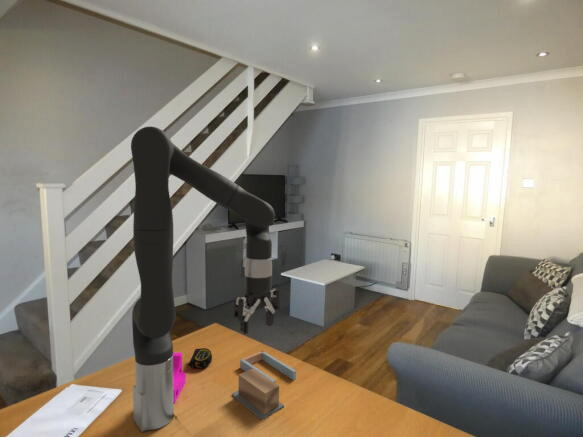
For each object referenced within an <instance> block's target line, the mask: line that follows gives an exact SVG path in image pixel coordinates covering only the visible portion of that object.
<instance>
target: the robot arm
mask: <svg viewBox="0 0 583 437" xmlns="http://www.w3.org/2000/svg"><path fill="white" fill-rule="evenodd" d="M130 151H131V157H132V163H133V172H134V182H135V192H134V194H135V195H134V203H133V222H132V223H133V224H132V225H133V226H132V228H133V230H132V232H133V238H132V239H133V250H134V258H135V262H136V267H137V271H138V272H137V273H138V275H139V281H140V282H139V283H140V297H139V299H138V300H137V301H136V302H135V304H134V305H133V307H132V312H131V314H132V315H131V317H132V319H131V320H132V321H131V322H132V324H131V325H132V343H133V344H132V345H133V351H134V368H135V369H134V373H135V374H134V375H135V378H134V379H135V385H133V386H132V399H133V400H132V402H133V403H132V406H133V421H134V422H135V424H136V426H137V427H138V429H139V430H140V432H142V433H143V432H145V431H151V430H159V429H160V428H163V427H165V426H167V424H169V423H170V422H172V420H173V418H174V414H175V412H174V411H175V406H174V405H175V404H174V392H173V353H174V344H173V339H172V336H171V330H172V328H173V326H174V324H175V321H176V316H177V314H176V308H175V307H176V305H175V298H174V290H173V289H174V288H173V268H174V266H173V265H174V218H173V217H174V216H173V208H172V207H173V206H172V202H171V197H170V196H171V195H170V189H169V183H170V182H169V181H170V180H169V179H170V175H171V176H173V177H176V178H178V179H179V180H181V181H182V182H184V183H186V184H187V185H189V186H190V187H192V188H193V189H195V190H196V191H197V192H199V193H200V194H202V195H203V196H205V197H206V198H207V199H209V200H210V201H212V202H214V203H216V204H218V205H219V206H220V207H223V208H224V209H225V210H228V211H230V212H232V213H234V214H236V215H237V216H239V217H240V218H242V219H243V220H245V221H244V222H245V224H244V225H245V232H246V233H245V234H246V243H245V245H246V248H245V251H246V253H245V263H244V291H245V294H244V296H242V297H240V296H236V297H235V298H234V307H233V318H234V319H236V320H238V321H239V322H240V323H239V325H240V328H239V329H240V332H241V333H242V334H244V335H248V334H249V319H250V317H251V315H253V314H254V312H255V311H258V310H260V309H265V311H266V312H265V325H266V326H268V327H272V326H273V323H274V319H275V318H274V317H275V316H274V315H275V312H276V311H279V310H280V308H281V307H280V306H281V304H280V289H277V288H274V287H273V286H272V283H273V281H272V280H273V261H272V260H273V259H272V252H273V250H272V249H273V246H272V245H273V244H272V239H271V237H270V226H271V225H272V224H273V223H274V221H275V218H276V213H275V209H274V208H273V206H272V205H271V204H269V202H267V201H264V200H263V199H261V198H259V197H257V196H256V195H254V194H251V192H248V191H247V190H246V189H244V188H242V186H240V185H239V184H237V183H235V182H234V181H232V179H231V180H230V179H229V178H227V177H226V176H224V175H222V174H221V173H218V172H217V171H215V170H214V169H211V168H210V167H208V166H205V165H204V164H201V163H200V162H198V161H196V160H195V159H194V158H192V157H191V156H189V155H187V154H186V153H185V152H183V151H182V150H181V149H180V148H179V147H178V146H177V145H175V144H174V143H173V142H172V140H171V138H170V136H169V135H168V134H167V133H166V132H165V131H164V130H162V129H160V128H159V127H156V126H144V127H142V128H140V129H138V130H137V131H136V132H135V134H133V137H132V139H131V141H130Z"/></svg>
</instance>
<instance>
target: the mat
mask: <svg viewBox="0 0 583 437" xmlns="http://www.w3.org/2000/svg"><path fill="white" fill-rule="evenodd" d="M231 396H232V397H233V398H235V399H236V400H237V401H238V402H239V403H240V404H242V405H243V406H244V407H245V408H246V409H248V410H249V411H250V412H251V413H252V414H253V415H255V416H256V417H257V418H258V419H260V420H261V421H263V420H264V419H266V418H268V417H269V416H271V415H273V414H274V413H276V412H279V411H280V410H282V409H283V408H285V405H284V404H283V403H282V402H281V401H279V407H277V408H275V409H274V410H272V411H270V412H268V413H267V414H263V413H262V412H261V411H260V410H258V409H257V408H256V407H255V406H253V405H252V404H251V403H249V402H248V401H247V400H246V399H244V398H243V397H242V396H240V395H239V389H237V391H234V392H232V393H231Z"/></svg>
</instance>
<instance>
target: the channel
mask: <svg viewBox="0 0 583 437" xmlns="http://www.w3.org/2000/svg"><path fill="white" fill-rule="evenodd" d="M261 361H263V362H265V363H267V365H270V366H271V367H273V368H275V369H276V370H277V371H279V372H280V373H282V374H283V375H285V377H287V378H289V379H291V380H292V381H294V380H296V379H297V370H296V369H294V368H293V367H291V366H289V365H287V364H286V363H284V362H282V361H281V360H279V359H277V358H275V357H274V356H272V355H270V354H269V353H267V352H266V351H264V350H260V351H259V352H256V353H253V354H251V355H248V356H246V357H244V358H241V359H240V361H239V364H240V365H239V366H240V369H241V370H243V371H244V372H246V371H248V370H250V369H252V368H253V369H254V370H256V371H257V372H259V373H260V374H262V375H263V376H265V377H266V378H268V379H269V380H271V381H272V382H274V383H275V384H277V382H276V379H274V378H272V377H271V376H269V375H267V374H266V373H265V372H264V371H262V370H260V369H259V368H257V367H256V366H254V365H253V364H256V363H258V362H261Z"/></svg>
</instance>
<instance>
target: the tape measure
mask: <svg viewBox="0 0 583 437" xmlns="http://www.w3.org/2000/svg"><path fill="white" fill-rule="evenodd" d="M212 360H213V354H212V351H211V350H210V349H209V348H205V347H203V348H202V347H201V348H195V349H194V351H193V353H192V356H191V357H190V360H189V363H188V364H187V366H188V367H190V368H193V369H194V368H197V369H203V368H207V367H208V366H209V365H211V363H212Z"/></svg>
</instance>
